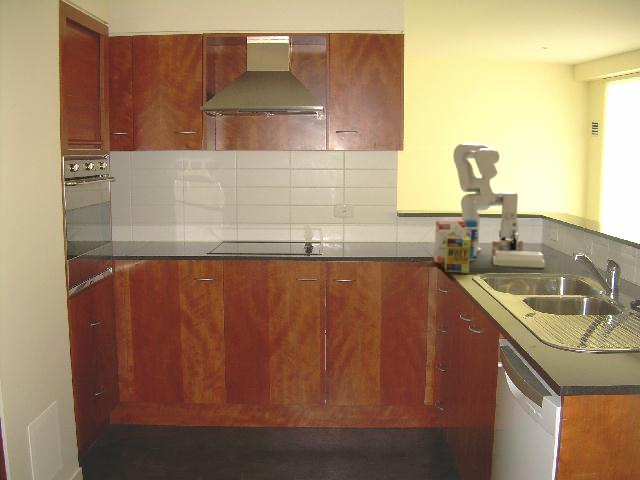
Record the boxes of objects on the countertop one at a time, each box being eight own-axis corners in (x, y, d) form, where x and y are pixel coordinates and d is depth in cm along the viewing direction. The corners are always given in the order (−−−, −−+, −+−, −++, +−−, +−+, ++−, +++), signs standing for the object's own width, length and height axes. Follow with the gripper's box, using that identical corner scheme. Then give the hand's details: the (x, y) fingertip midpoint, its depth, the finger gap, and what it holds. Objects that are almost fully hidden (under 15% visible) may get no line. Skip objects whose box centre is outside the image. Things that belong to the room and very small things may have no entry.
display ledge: (494, 265, 295) (495, 253, 294) (492, 262, 304) (493, 250, 303) (544, 267, 290) (545, 255, 289) (540, 264, 300) (541, 252, 299)
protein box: (445, 272, 277) (447, 238, 275) (444, 266, 292) (445, 234, 290) (469, 273, 275) (470, 239, 273) (467, 267, 290) (468, 235, 288)
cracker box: (437, 263, 298) (438, 221, 295) (433, 261, 304) (435, 220, 301) (465, 263, 299) (466, 221, 296) (460, 261, 305) (462, 220, 302)
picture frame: (496, 259, 314) (497, 242, 312) (491, 257, 318) (492, 240, 316) (522, 257, 319) (523, 240, 318) (516, 256, 323) (517, 239, 322)
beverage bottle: (457, 258, 314) (458, 220, 311) (470, 257, 317) (472, 219, 314) (466, 261, 306) (468, 221, 303) (480, 260, 309) (482, 221, 306)
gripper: (525, 217, 308) (523, 250, 310) (506, 214, 324) (505, 246, 326) (511, 217, 306) (510, 251, 308) (494, 215, 322) (492, 246, 325)
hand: (507, 248), depth 317 cm, fingers open, 9 cm apart
